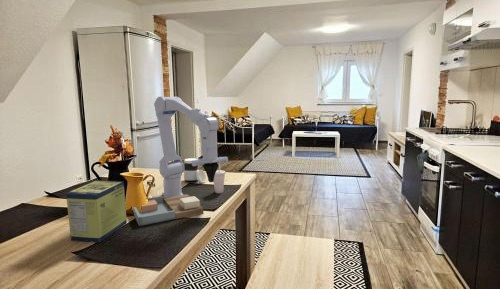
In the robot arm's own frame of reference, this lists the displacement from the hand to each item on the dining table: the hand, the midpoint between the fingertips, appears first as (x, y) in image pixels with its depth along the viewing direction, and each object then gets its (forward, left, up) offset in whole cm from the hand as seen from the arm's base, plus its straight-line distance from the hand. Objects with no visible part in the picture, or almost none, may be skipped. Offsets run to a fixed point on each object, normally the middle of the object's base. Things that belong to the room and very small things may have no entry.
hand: (210, 181), depth 126 cm
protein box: (+3, -41, -11) cm, 43 cm away
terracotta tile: (-9, -23, -10) cm, 27 cm away
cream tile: (0, -9, -8) cm, 12 cm away
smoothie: (-17, +10, -11) cm, 22 cm away
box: (-5, -23, -10) cm, 25 cm away
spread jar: (-40, +6, -11) cm, 41 cm away
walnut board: (-5, -11, -10) cm, 16 cm away
